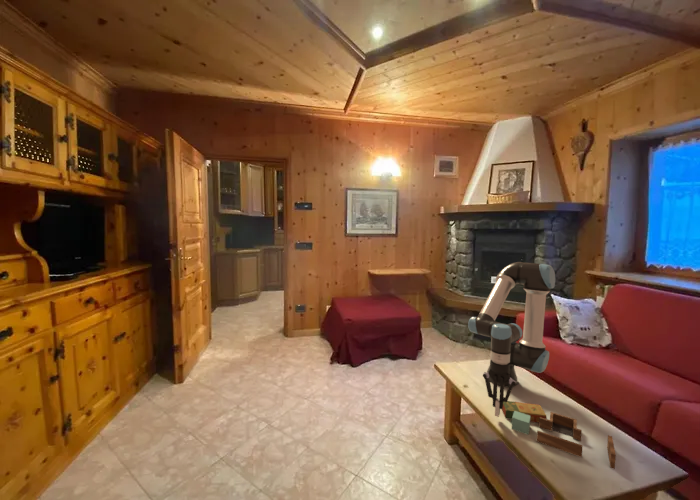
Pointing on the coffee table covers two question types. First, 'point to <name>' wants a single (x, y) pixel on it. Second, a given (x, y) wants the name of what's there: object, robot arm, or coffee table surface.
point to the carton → (523, 410)
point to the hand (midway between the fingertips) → (497, 414)
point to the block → (521, 422)
